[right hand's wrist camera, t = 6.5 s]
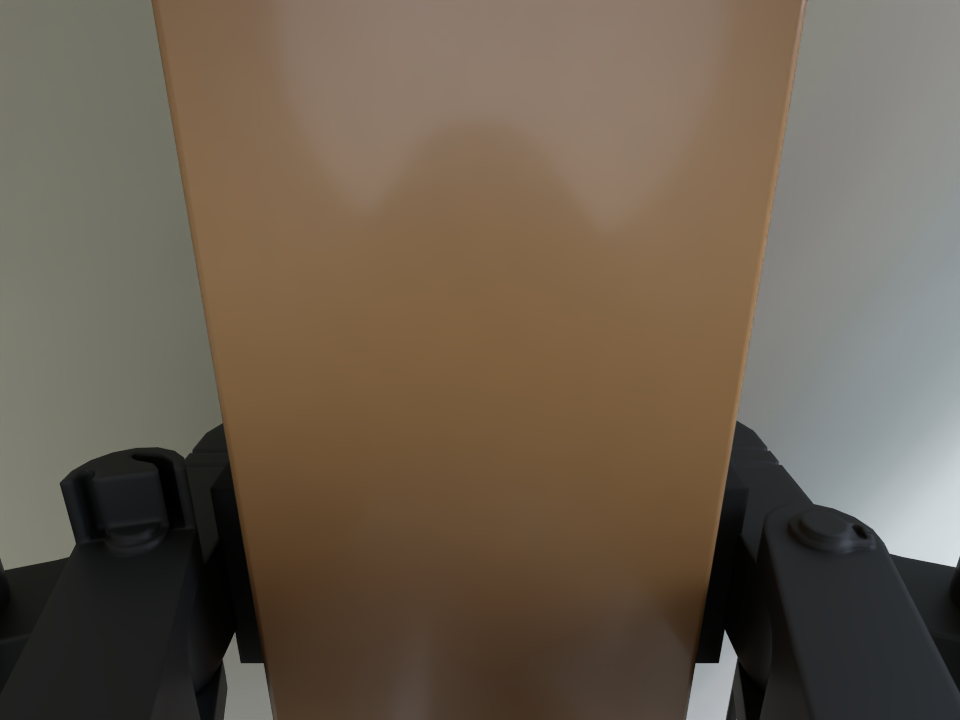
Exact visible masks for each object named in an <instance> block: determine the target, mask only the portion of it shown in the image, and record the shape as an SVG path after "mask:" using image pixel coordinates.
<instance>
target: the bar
mask: <svg viewBox="0 0 960 720" xmlns="http://www.w3.org/2000/svg"><path fill="white" fill-rule="evenodd" d="M151 1H152V7H153V13H154V19H155V24H156V30H157V36H158V42H159V48H160V54H161V60H162V66H163V72H164V78H165V83H166V89H167V95H168V101H169V107H170V113H171V119H172V125H173V131H174V137H175V142H176V148H177V154H178V160H179V166H180V172H181V178H182V184H183V190H184V196H185V201H186V207H187V213H188V219H189V225H190V231H191V237H192V243H193V249H194V254H195V260H196V266H197V272H198V278H199V284H200V290H201V296H202V302H203V308H204V313H205V319H206V325H207V331H208V337H209V343H210V349H211V355H212V361H213V367H214V372H215V378H216V384H217V390H218V396H219V402H220V408H221V414H222V420H223V426H224V431H225V437H226V443H227V449H228V455H229V461H230V467H231V473H232V479H233V485H234V490H235V496H236V502H237V508H238V514H239V520H240V526H241V532H242V538H243V543H244V549H245V555H246V561H247V567H248V573H249V579H250V585H251V591H252V597H253V602H254V608H255V614H256V620H257V626H258V632H259V638H260V644H261V650H262V656H263V661H264V667H265V673H266V679H267V685H268V691H269V697H270V703H271V709H272V715H273V720H686V716H687V710H688V704H689V698H690V692H691V686H692V680H693V674H694V668H695V663H696V657H697V651H698V645H699V639H700V633H701V627H702V621H703V615H704V609H705V603H706V597H707V591H708V586H709V580H710V574H711V568H712V562H713V556H714V550H715V544H716V538H717V532H718V526H719V520H720V515H721V509H722V503H723V497H724V491H725V485H726V479H727V473H728V467H729V461H730V455H731V449H732V443H733V438H734V432H735V426H736V420H737V414H738V408H739V402H740V396H741V390H742V384H743V378H744V372H745V367H746V361H747V355H748V349H749V343H750V337H751V331H752V325H753V319H754V313H755V307H756V301H757V295H758V290H759V284H760V278H761V272H762V266H763V260H764V254H765V248H766V242H767V236H768V230H769V224H770V219H771V213H772V207H773V201H774V195H775V189H776V183H777V177H778V171H779V165H780V159H781V153H782V147H783V142H784V136H785V130H786V124H787V118H788V112H789V106H790V100H791V94H792V88H793V82H794V76H795V71H796V65H797V59H798V53H799V47H800V41H801V35H802V29H803V23H804V17H805V11H806V5H807V0H151Z"/></svg>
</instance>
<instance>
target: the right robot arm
mask: <svg viewBox="0 0 960 720" xmlns="http://www.w3.org/2000/svg"><path fill="white" fill-rule="evenodd" d="M60 486H61V490H62V494H63V497H64V501H65V504H66V508H67V512H68V515H69V519H70V523H71V526H72V530H73V533H74V537H75V541H76V545H75V547H74V549H73V551H72V553H71V555H70V557H67V558H64V559H60V560H55V561H50V562H45V563H40V564H35V565H30V566H25V567H20V568H14V569H9V570H4V568H3V565H2V562H1V559H0V720H224V712H225V704H226V696H227V681H226V674H225V669H224V664H223V657H224V655H225V653H226V650H227V648H228V646H229V644H230V642H231V639H232V637H233V635H234V633H236V639H237V644H238V650H239V655H240V661H241V663H264V661H263V656H262V650H261V644H260V638H259V632H258V626H257V620H256V614H255V608H254V602H253V597H252V591H251V585H250V579H249V573H248V567H247V561H246V555H245V549H244V543H243V538H242V532H241V526H240V520H239V514H238V508H237V502H236V496H235V490H234V485H233V479H232V473H231V467H230V461H229V455H228V449H227V443H226V437H225V431H224V426H223V423H222V424H221V425H219V426H217V427H216V428H214V429H212V430H211V431H209V432H207V433H206V434H205V435H204V437H203V438H202V439H201V440H200V442H199V443H198V444H197V445H196V446H195V448H194V449H193V453H190V454H189V455H188V456H187V458H186V459H185V460H184V458H183V457H182V456H181V455H179V454H178V453H177V452H175V451H173V450H168V449H163V448H158V447H154V448H134V449H128V450H123V451H118V452H113V453H110V454H107V455H104V456H102V457H99V458H96V459H93V460H90V461H89V462H87V463H85V464H83V465H82V466H80V467H78V468H76V469H75V470H73V471H71V472H70V473H69V474H68V475H67V476H66V477H65V478H64V479H63V480H62V481H61V482H60ZM724 630H725V631H726V633H727V635H728V637H729V639H730V641H731V644H732V646H733V648H734V650H735V652H736V654H737V657H738V659H737V664H736V669H735V674H734V680H733V685H732V690H731V695H730V701H729V706H728V711H727V716H726V720H736V719H737V720H960V557H959V560H958V563H957V566H956V567H951V566H946V565H941V564H935V563H930V562H925V561H920V560H915V559H910V558H905V557H900V556H896V555H892V554H889V552H888V550H887V548H886V546H885V544H884V542H883V541H882V540H881V539H880V538H879V536H878V535H877V534H876V533H875V532H874V530H873V529H871V528H870V527H868V526H867V525H865V524H864V523H862V522H861V521H859V520H858V519H856V518H855V517H852V516H850V515H848V514H845V513H843V512H840V511H838V510H836V509H833V508H828V507H824V506H819V505H815V504H813V503H812V502H811V500H810V499H809V498H808V497H807V495H806V494H805V493H804V492H803V491H802V489H801V488H800V487H799V486H798V484H797V483H796V482H795V481H794V480H793V478H792V477H791V476H790V475H789V473H788V472H787V471H786V470H785V469H784V467H783V466H782V465H779V461H778V460H777V459H776V458H775V456H774V455H773V454H772V453H771V451H767V447H766V445H765V444H764V443H763V442H762V441H761V439H760V438H759V437H758V436H757V434H756V433H755V432H754V431H753V430H751V429H750V428H748V427H746V426H745V425H743V424H741V423H740V422H738V421H736V426H735V432H734V438H733V443H732V449H731V455H730V461H729V467H728V473H727V479H726V485H725V491H724V497H723V503H722V509H721V515H720V520H719V526H718V532H717V538H716V544H715V550H714V556H713V562H712V568H711V574H710V580H709V586H708V591H707V597H706V603H705V609H704V615H703V621H702V627H701V633H700V639H699V645H698V651H697V657H696V663H719V658H720V653H721V647H722V642H723V636H724Z"/></svg>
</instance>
